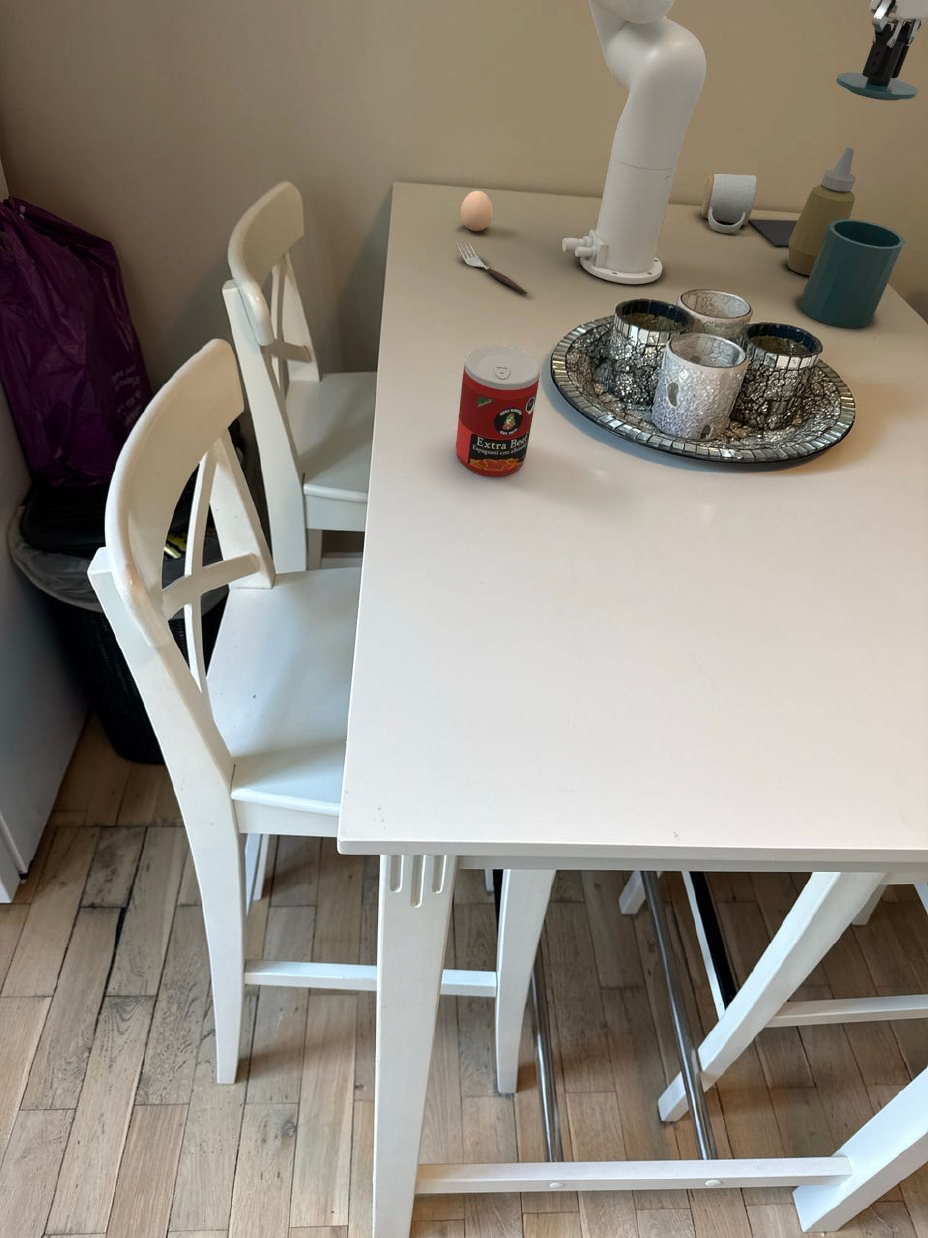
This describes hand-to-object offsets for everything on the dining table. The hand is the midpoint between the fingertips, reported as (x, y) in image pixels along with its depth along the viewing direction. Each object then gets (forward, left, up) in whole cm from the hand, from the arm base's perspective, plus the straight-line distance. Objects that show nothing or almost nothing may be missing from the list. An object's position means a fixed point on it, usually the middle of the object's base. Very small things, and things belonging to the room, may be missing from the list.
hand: (879, 75), depth 124 cm
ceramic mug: (-7, +18, -27) cm, 34 cm away
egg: (-53, +13, -28) cm, 61 cm away
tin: (-4, -16, -27) cm, 32 cm away
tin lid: (0, 0, -2) cm, 2 cm away
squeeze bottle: (-1, -1, -27) cm, 27 cm away
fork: (-54, -4, -28) cm, 61 cm away
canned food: (-65, -50, -27) cm, 87 cm away
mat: (+3, +13, -27) cm, 31 cm away
